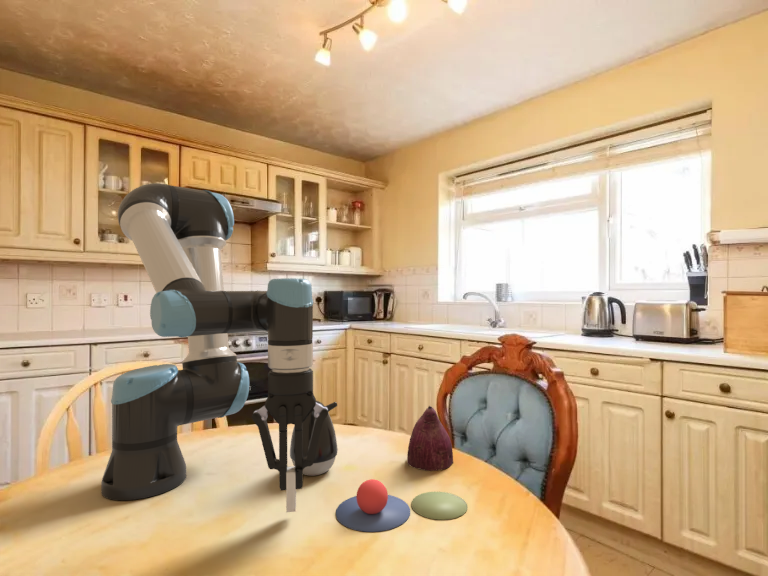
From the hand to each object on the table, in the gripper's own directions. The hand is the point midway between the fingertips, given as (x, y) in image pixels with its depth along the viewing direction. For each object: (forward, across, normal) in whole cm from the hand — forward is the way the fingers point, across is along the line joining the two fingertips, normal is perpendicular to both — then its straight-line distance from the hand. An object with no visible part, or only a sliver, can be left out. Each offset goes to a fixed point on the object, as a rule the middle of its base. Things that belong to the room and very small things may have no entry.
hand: (291, 507), depth 73 cm
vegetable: (+2, +30, +20) cm, 36 cm away
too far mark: (+2, +26, 0) cm, 26 cm away
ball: (-1, +14, 0) cm, 14 cm away
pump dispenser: (+2, +4, +20) cm, 21 cm away
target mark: (+2, +14, 0) cm, 14 cm away
